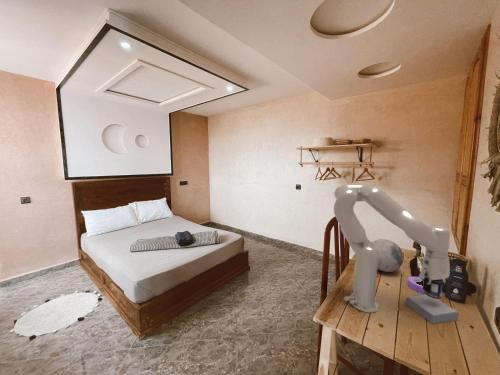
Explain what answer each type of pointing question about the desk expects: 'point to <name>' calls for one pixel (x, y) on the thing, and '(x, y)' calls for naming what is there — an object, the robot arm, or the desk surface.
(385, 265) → the moon model
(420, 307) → the podium
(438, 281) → the pill bottle
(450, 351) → the desk surface
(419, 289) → the masking tape
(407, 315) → the desk surface
